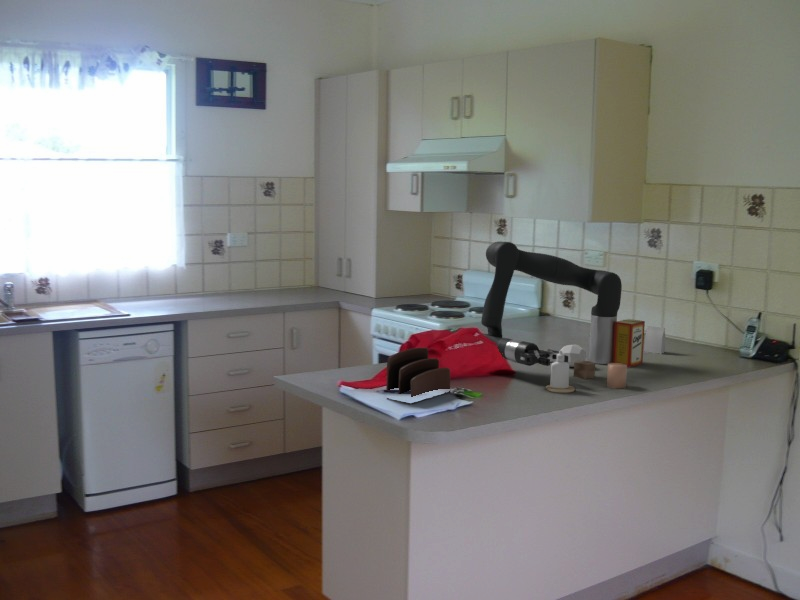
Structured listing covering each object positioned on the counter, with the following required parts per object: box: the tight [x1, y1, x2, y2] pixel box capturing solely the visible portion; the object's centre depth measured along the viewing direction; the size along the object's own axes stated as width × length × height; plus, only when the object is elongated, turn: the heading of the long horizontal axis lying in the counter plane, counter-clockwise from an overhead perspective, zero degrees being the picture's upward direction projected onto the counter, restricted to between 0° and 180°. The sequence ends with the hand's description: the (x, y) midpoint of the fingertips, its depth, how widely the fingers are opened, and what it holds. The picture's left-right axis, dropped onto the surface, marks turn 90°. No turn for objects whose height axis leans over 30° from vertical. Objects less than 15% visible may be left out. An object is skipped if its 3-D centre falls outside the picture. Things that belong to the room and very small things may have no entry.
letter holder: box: [385, 346, 451, 397], centre depth 267 cm, size 10×20×14 cm, turn 141°
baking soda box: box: [613, 318, 645, 368], centre depth 316 cm, size 10×6×16 cm
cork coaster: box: [545, 384, 575, 394], centre depth 278 cm, size 9×9×1 cm
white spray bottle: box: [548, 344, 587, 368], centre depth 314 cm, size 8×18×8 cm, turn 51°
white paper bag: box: [643, 325, 666, 355], centre depth 338 cm, size 4×7×10 cm, turn 52°
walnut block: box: [573, 360, 596, 380], centre depth 295 cm, size 5×5×5 cm
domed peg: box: [606, 363, 628, 389], centre depth 283 cm, size 6×6×7 cm
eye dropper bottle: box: [549, 349, 570, 389], centre depth 277 cm, size 4×6×12 cm
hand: (558, 360), depth 278 cm, fingers open, 8 cm apart
